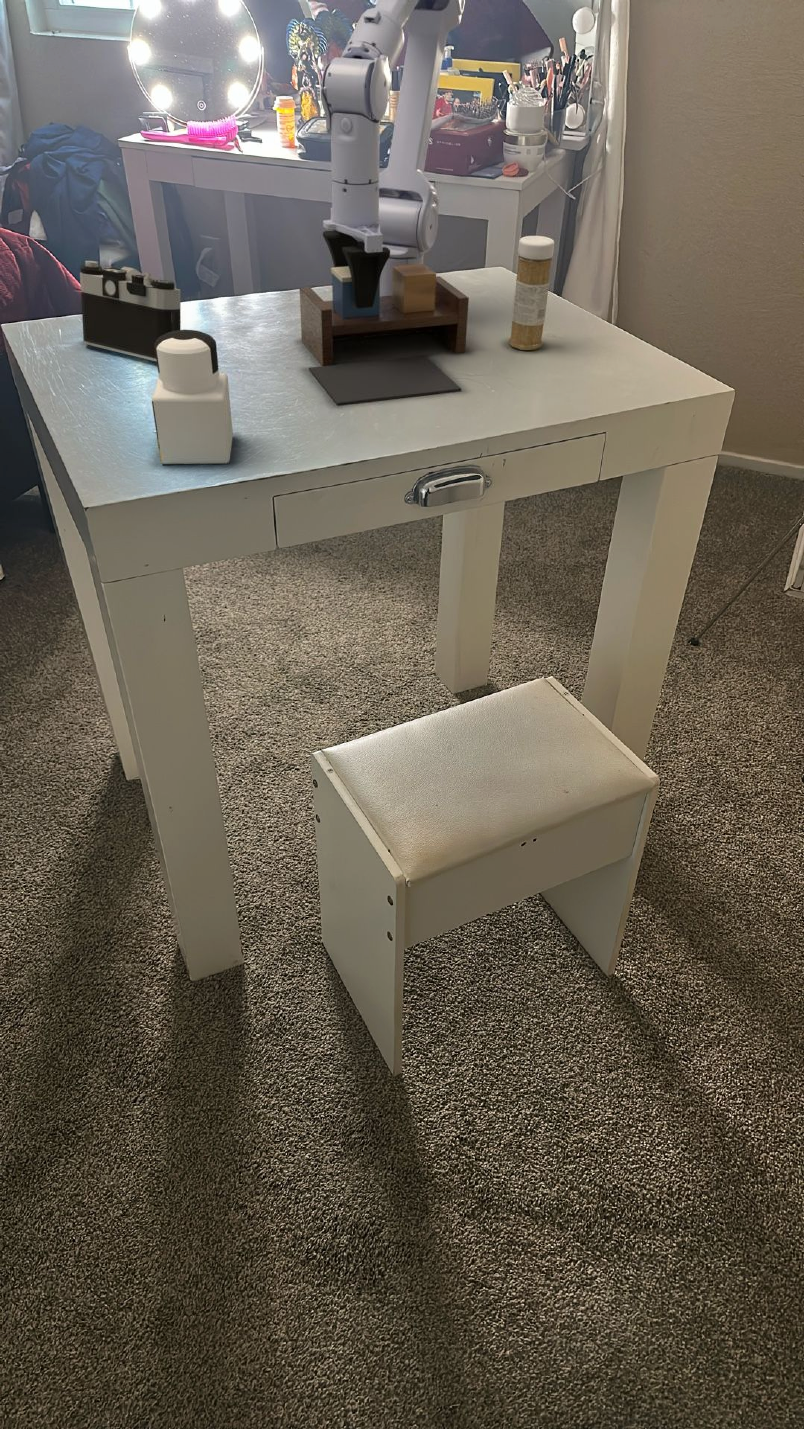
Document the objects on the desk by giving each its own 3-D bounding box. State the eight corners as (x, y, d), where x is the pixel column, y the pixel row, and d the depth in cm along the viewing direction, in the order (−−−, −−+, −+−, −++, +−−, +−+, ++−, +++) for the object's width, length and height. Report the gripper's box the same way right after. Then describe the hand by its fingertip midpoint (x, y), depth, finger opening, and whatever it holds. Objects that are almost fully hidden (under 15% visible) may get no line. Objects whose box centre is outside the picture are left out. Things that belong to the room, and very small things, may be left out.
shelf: (301, 341, 127) (299, 287, 122) (437, 328, 133) (439, 276, 128) (322, 367, 120) (321, 310, 115) (465, 352, 125) (469, 297, 121)
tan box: (391, 303, 125) (392, 266, 122) (422, 300, 126) (423, 264, 123) (403, 313, 122) (404, 275, 119) (434, 310, 123) (436, 273, 120)
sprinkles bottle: (525, 338, 130) (537, 232, 122) (548, 347, 128) (562, 240, 119) (501, 344, 128) (512, 237, 120) (525, 353, 126) (537, 245, 117)
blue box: (331, 308, 122) (330, 267, 119) (369, 305, 124) (369, 264, 121) (342, 319, 119) (341, 277, 116) (380, 315, 121) (381, 274, 117)
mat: (308, 369, 119) (308, 367, 119) (425, 357, 123) (425, 355, 123) (337, 405, 110) (337, 402, 110) (460, 390, 115) (461, 388, 115)
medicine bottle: (167, 436, 102) (152, 323, 95) (233, 436, 103) (223, 324, 95) (160, 465, 97) (143, 348, 89) (229, 464, 98) (218, 348, 90)
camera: (213, 356, 125) (214, 275, 120) (160, 364, 117) (158, 277, 112) (128, 336, 130) (126, 257, 125) (71, 343, 122) (66, 258, 117)
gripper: (306, 169, 116) (310, 285, 124) (341, 194, 105) (343, 319, 114) (360, 167, 118) (360, 281, 126) (400, 191, 107) (397, 314, 116)
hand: (355, 299), depth 120 cm, fingers open, 6 cm apart
